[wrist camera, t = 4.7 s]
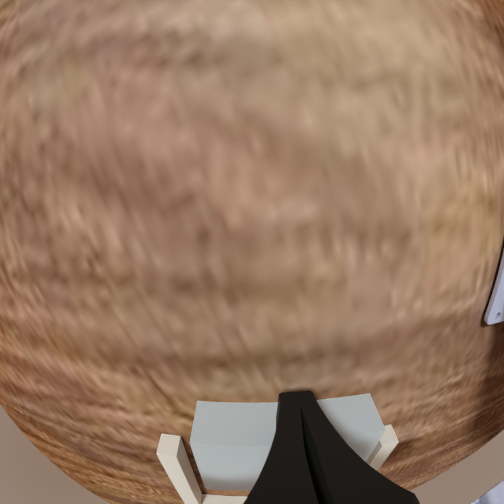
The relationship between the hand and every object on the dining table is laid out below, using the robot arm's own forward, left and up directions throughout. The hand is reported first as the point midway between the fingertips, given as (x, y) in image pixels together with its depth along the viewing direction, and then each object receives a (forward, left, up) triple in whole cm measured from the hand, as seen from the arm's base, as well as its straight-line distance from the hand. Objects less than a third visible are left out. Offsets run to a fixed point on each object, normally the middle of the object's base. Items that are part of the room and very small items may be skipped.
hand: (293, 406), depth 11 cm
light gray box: (0, +4, -2) cm, 5 cm away
